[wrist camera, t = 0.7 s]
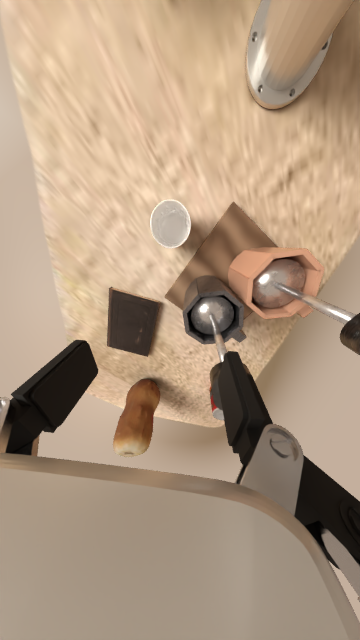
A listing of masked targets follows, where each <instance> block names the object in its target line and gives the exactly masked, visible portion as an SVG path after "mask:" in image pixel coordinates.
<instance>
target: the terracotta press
mask: <svg viewBox="0 0 360 640" xmlns="http://www.w3.org/2000/svg"><path fill="white" fill-rule="evenodd" d="M279 259H288V260H293V261H296V262H297V263H299V264H300V265H301V266H302V268H303V270H304V273H305V281H304V285H303V287H302V289H301V292H303V293H306V294H308V295H311V296H313V297H316V296H317V293H318V289H319V286H320V283H321V279H322V276H323V273H324V267H323V266H322V265H321V264H320V263H319V262H318V260H317V259H316V258H315V257H314V256H313V255H312V254H311V253H310V252H309V250H308V249H305V248H275V247H262V248H253V249H248V250H244V251H243V252H241V253H240V254H239V255H237V256H236V257H235V258H234V260H233V261H232V263H231V264H230V267H229V270H228V281H229V286H230V287H231V288H232V289H233V290H234V292H235V293H236V294H237V295H238V296H239V297H240V298H241V299H242V300H243V301H244V302H245V303H246V304H247V305H248V306H249V307H250V308H251V309H252V310H254V311H255V312H256V313H257V314H258V315H260V316H261V317H262V318H263V319H269V318H280V317H290V316H292V315H294V314H295V313H297V314H298V315H300V316H302V317H303V318H304V317H306V316H307V315H308V314H310V313H311V312H312V311H313V310H312V309H311V308H310V307H309V306H308V305H306V304H304V303H302V302H300V301H298V300H297V299H295V298H294V299H293V300H292V301H290V302H289V303H287V304H285V305H283V306H280V307H276V308H267V307H263V306H261V305H259V304H258V303H257V302H256V301H255V300H254V299H253V297H252V288H253V280H254V279H255V278H256V277H257V276H258V275H259V274H260V273H261V271H262V270H263V269H264V268H265V267H266V266H267V265H268V264H269V263H270V262H272V261H275V260H279Z"/></svg>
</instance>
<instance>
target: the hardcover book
mask: <svg viewBox="0 0 360 640" xmlns="http://www.w3.org/2000/svg"><path fill="white" fill-rule="evenodd" d="M159 302H160V301H156V300H153V299H149V298H146V297H142V296H139V295H135V294H132V293H128V292H125V291H121V290H118V289H114V288H112V287H111V288H109V310H108V335H107V346H108V347H112V348H116V349H120V350H124V351H128V352H132V353H136V354H139V355H143V356H147V357H148V354H149V349H150V345H151V340H152V336H153V332H154V327H155V323H156V319H157V314H158V310H159V306H160V303H159Z"/></svg>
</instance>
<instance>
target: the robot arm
mask: <svg viewBox="0 0 360 640" xmlns="http://www.w3.org/2000/svg"><path fill="white" fill-rule="evenodd" d="M353 1H354V0H262V1H261V3H260V5H259V7H258V10H257V12H256V15H255V18H254V21H253V24H252V27H251V31H250V35H249V39H248V44H247V50H246V64H245V67H246V78H247V83H248V87H249V89H250V92H251V94H252V96H253V98H254V99H255V101H256V102H257V103H259V104H260V105H261V106H263V107H265V108H267V109H278V108H282V107H284V106H286V105H288V104H290V103H291V102H293V101H294V100H295V99H296V98H297V97H298V96H300V95H301V94H302V93H303V91H304V90H305V89H306V88H307V86H308V85H309V84H310V82H311V81H312V79H313V78H314V77H315V75H316V74H317V72H318V70H319V68H320V66H321V64H322V63H323V60H324V58H325V56H326V53H327V51H328V48H329V45H330V42H331V38H332V35H333V31H334V30H335V28H336V27H337V25H338V24H339V22H340V21H341V19H342V18H343V16H344V15H345V13H346V12H347V10H348V9H349V7H350V6H351V4H352V3H353ZM97 374H98V368H97V365H96V362H95V360H94V357H93V354H92V351H91V349H90V346H89V344H88V343H87V341H84V340H75V341H73V342H72V343H71V344H70V345H69V346H68V347H66V348H65V349H64V350H63V351H62V352H61V353H59V354H58V355H57V356H56V357H55V358H53V359H52V360H51V361H50V362H49V363H47V364H46V365H45V366H44V367H43V368H41V369H40V370H39V371H38V372H37V373H36V374H34V375H33V376H32V377H31V378H30V379H28V380H27V381H26V382H25V383H24V384H23V385H21V386H20V387H19V388H18V389H17V390H15V391H14V392H13V393H12V394H11V395H12V396H13V397H14V398H12V399H11V400H9V398H7V397H0V640H360V623H359V621H358V619H357V616H356V614H355V612H354V610H353V608H352V606H351V604H350V602H349V600H348V598H347V596H346V594H345V592H344V590H343V588H342V586H341V584H340V582H339V580H338V578H337V576H336V574H335V572H334V570H333V568H332V567H331V565H330V563H329V561H330V562H331V563H332V564H333V565H334V566H335V567H336V568H338V569H340V570H341V571H342V573H343V574H344V575H345V577H346V578H347V580H348V581H349V583H350V584H351V586H352V587H353V588H354V590H355V591H356V593H357V594H358V596H359V597H358V600H359V602H360V501H358V500H357V499H356V498H355V497H354V496H352V495H351V494H350V493H349V492H348V491H346V490H345V489H344V488H342V487H341V486H340V485H339V484H338V483H337V482H335V481H334V480H333V479H332V478H331V477H329V476H328V475H327V474H325V472H323V471H322V470H321V469H320V468H318V467H317V466H316V465H315V464H314V463H313V462H311V461H310V460H309V459H308V458H307V457H305V456H304V455H303V451H302V449H301V446H300V445H299V443H298V441H297V439H296V438H295V437H294V436H293V435H292V434H291V433H290V432H289V431H288V430H286V429H285V428H283V427H282V426H279V425H276V424H273V423H272V420H271V418H270V416H269V414H268V411H267V409H266V407H265V404H264V402H263V400H262V397H261V395H260V393H259V391H258V389H257V386H256V384H255V381H254V379H253V377H252V375H251V374H248V373H246V371H245V369H244V366H243V364H242V361H241V359H240V356H239V354H238V352H233V351H228V352H227V353H225V354H224V358H223V362H222V366H221V371H220V375H219V379H218V387H219V393H220V398H221V404H222V410H223V415H224V421H225V427H226V432H227V438H228V443H229V446H232V448H233V452H234V453H239V457H240V461H241V463H242V467H241V469H240V472H239V474H238V476H237V478H236V481H235V483H231V482H226V481H222V480H216V479H210V478H203V477H197V476H190V475H183V474H176V473H168V472H160V471H152V470H144V469H137V468H129V467H121V466H113V465H105V464H97V463H88V462H79V461H71V460H64V459H55V458H46V457H38V456H37V453H38V444H39V435H40V433H41V432H42V431H44V432H51V433H54V431H55V430H56V428H57V427H59V426H60V425H61V424H62V423H63V422H64V420H65V419H66V418H67V416H68V414H69V413H70V412H71V410H72V409H73V408H74V406H75V405H76V404H77V402H78V401H79V399H80V398H81V396H82V395H83V394H84V392H85V391H86V390H87V388H88V387H89V385H90V384H91V383H92V381H93V380H94V378H95V377H96V376H97ZM328 560H329V561H328Z"/></svg>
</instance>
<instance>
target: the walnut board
mask: <svg viewBox="0 0 360 640" xmlns="http://www.w3.org/2000/svg"><path fill="white" fill-rule="evenodd" d="M262 247H275V248H278V247H277V246H276V245H275V244H274V243H273V242H272V241H271V240H270V239H269V238H268V237H267V236H266V235H265V234H264V233H263V232H262V231H261V230H260V228H259V227H258V226H257V225H256V224H255V223H254V222H253V221H252V220H251V219H250V218H249V217H248V216H247V215H246V214H245V213H244V212H243V211H242V210H241V209H240V208H239V207H238V206H237V205H236V204H235V203H234V202H233V203H232V204H231V205H230V207H229V208H228V209H227V211H226V212H225V213H224V215H223V216H222V218H221V219H220V220H219V222H218V223H217V225H216V226H215V227H214V229H213V230H212V231H211V233H210V234H209V236H208V237H207V238H206V240H205V241H204V243H203V244H202V245H201V247H200V248H199V250H198V251H197V252H196V254H195V255H194V256H193V258H192V259H191V261H190V262H189V263H188V265H187V266H186V268H185V269H184V270H183V272H182V273H181V274H180V276H179V277H178V279H177V280H176V281H175V283H174V284H173V286H172V287H171V288H170V290H169V291H168V292H167V294H166V295H165V298H166V299H168V300H169V301H170V302H172V303H173V304H175V305H176V306H178V307H179V308H180V309H182V310H183V306H184V298H185V291H186V290H187V289H188V287H189V285H190V284H191V282H192V281H193V280H195V278H198V277H201V276H205V275H210V276H213V275H214V276H216V277H217V278H218V279H220V280H221V281H222V282H223V283H224V284H225V285H226V286H227V287H228V288H229V289H230V290H231V291H232V292H233V294H234V295H235V296H236V297H237V298H238V299H239V300H240V302H241V303H242V304H243V305H244V317H243V320H244V319H245V318H246V317H247V316H248V315H249V314H251V313H252V312H253V311H254V310H252V309H251V308H250V307H249V306H248V305H247V304H246V303H245V302H244V301H243V300H242V299H241V298H240V297H239V296H238V295H237V294H236V293H235V292H234V290H233V289H232V288H231V287H230V286H229V281H228V270H229V267H230V264H231V263H232V261H233V260H234V258H235V257H236V256H237V255H239V254H240V253H241V252H243V251H244V250H248V249H253V248H262Z"/></svg>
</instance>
